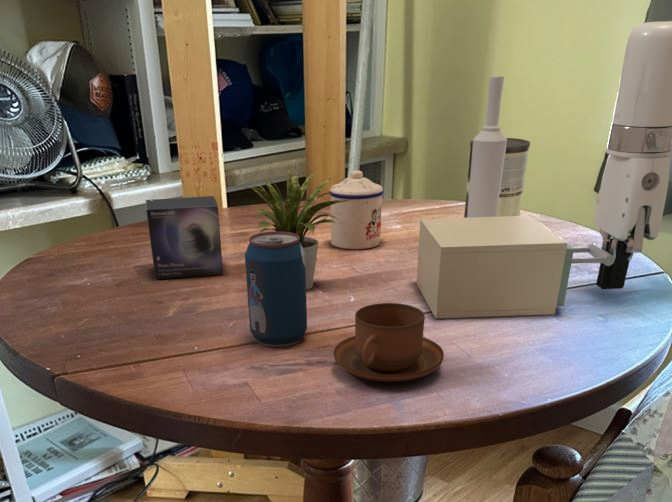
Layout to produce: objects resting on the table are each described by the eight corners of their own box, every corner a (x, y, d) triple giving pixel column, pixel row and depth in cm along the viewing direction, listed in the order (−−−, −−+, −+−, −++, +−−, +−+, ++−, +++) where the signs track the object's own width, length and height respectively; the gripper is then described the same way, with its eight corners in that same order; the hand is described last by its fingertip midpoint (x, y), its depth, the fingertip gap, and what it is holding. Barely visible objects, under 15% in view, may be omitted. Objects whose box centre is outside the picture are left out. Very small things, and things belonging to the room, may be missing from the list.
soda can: (313, 329, 88) (310, 231, 81) (299, 351, 82) (296, 246, 76) (260, 326, 89) (253, 229, 83) (243, 346, 83) (235, 244, 77)
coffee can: (451, 224, 131) (458, 142, 124) (484, 215, 137) (492, 136, 129) (497, 234, 125) (507, 147, 117) (530, 223, 131) (541, 140, 123)
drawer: (580, 273, 102) (590, 221, 98) (618, 303, 91) (631, 246, 87) (433, 278, 101) (437, 226, 97) (452, 309, 90) (458, 252, 86)
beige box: (521, 280, 103) (531, 215, 98) (555, 314, 91) (567, 242, 86) (416, 283, 102) (420, 219, 97) (435, 318, 90) (441, 246, 85)
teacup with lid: (376, 251, 117) (378, 177, 111) (323, 249, 119) (322, 175, 113) (388, 234, 127) (391, 164, 120) (339, 231, 129) (340, 163, 122)
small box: (154, 281, 106) (144, 208, 100) (154, 268, 111) (144, 199, 106) (224, 275, 108) (218, 203, 102) (220, 263, 113) (214, 194, 107)
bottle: (500, 247, 118) (522, 76, 104) (478, 252, 115) (497, 78, 102) (478, 241, 121) (496, 74, 108) (456, 246, 119) (471, 76, 105)
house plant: (292, 312, 93) (287, 181, 84) (223, 291, 101) (212, 169, 92) (360, 286, 102) (362, 164, 93) (291, 268, 110) (287, 155, 101)
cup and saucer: (441, 395, 72) (446, 338, 68) (325, 388, 74) (325, 332, 70) (443, 349, 82) (448, 298, 78) (341, 344, 83) (341, 294, 80)
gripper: (701, 148, 80) (661, 304, 90) (643, 132, 93) (614, 270, 103) (637, 150, 80) (604, 306, 90) (588, 133, 93) (563, 272, 103)
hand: (609, 287), depth 96 cm, fingers closed
